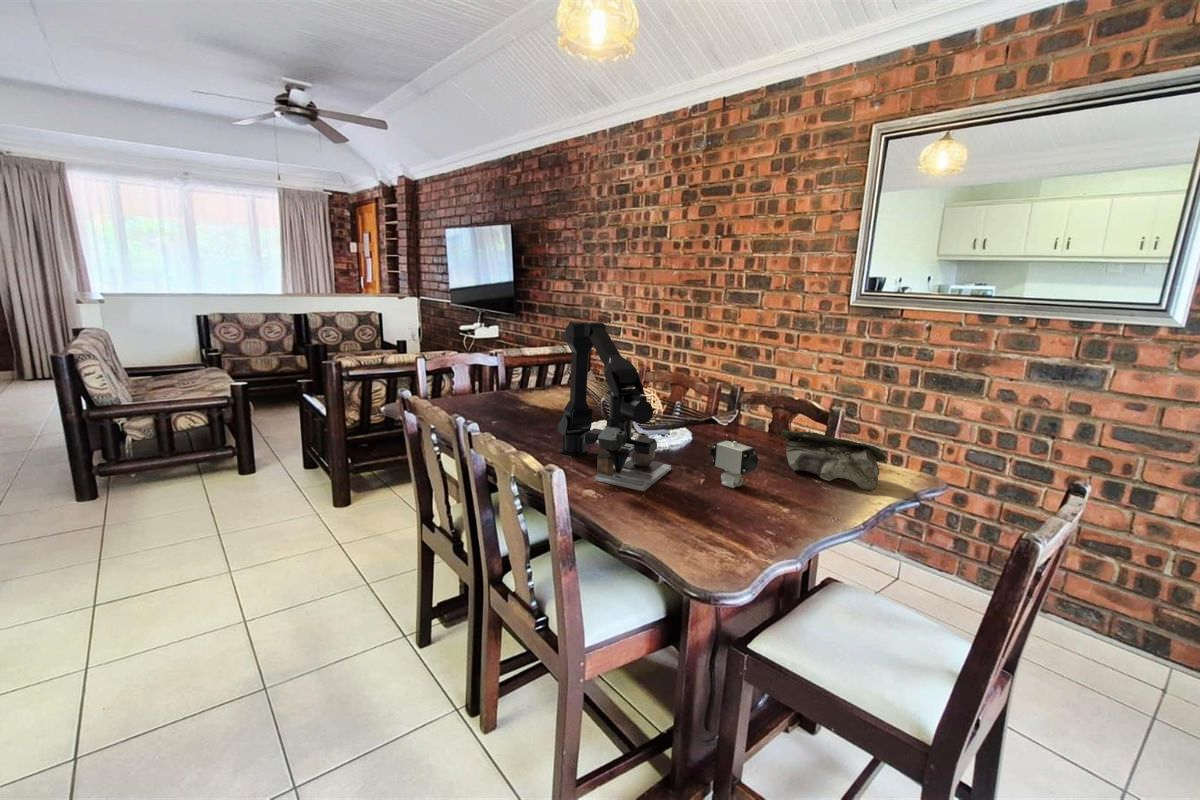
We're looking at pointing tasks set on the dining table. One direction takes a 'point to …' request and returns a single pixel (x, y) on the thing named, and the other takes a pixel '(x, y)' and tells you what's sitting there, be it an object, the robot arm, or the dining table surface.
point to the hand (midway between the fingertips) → (618, 472)
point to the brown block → (605, 463)
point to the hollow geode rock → (833, 457)
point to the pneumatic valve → (733, 461)
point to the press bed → (635, 475)
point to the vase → (642, 455)
